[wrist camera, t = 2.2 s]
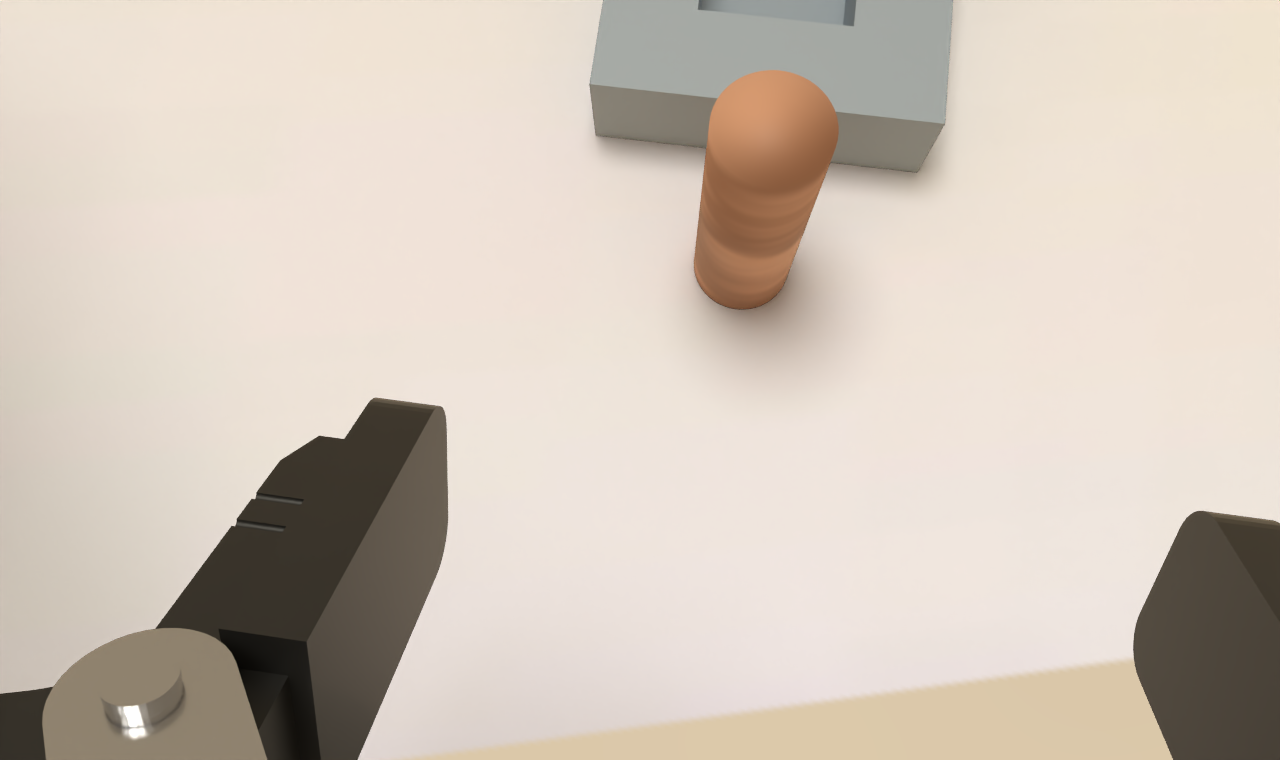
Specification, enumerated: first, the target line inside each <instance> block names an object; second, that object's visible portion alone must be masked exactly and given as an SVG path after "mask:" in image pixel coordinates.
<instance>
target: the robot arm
mask: <svg viewBox="0 0 1280 760" xmlns="http://www.w3.org/2000/svg"><path fill="white" fill-rule="evenodd" d="M447 526H448V486H447V428H446V416H445V412H444V410H443V408H442V407H441V406H434V405H427V404H419V403H412V402H404V401H397V400H390V399H382V398H373V399H372V400H371V401H370V402H369V403H368V404H367V406H366V407H365V409H364V410H363V412H362V413H361V415H360V416H359V418H358V419H357V421H356V422H355V424H354V425H353V427H352V428H351V430H350V431H349V433H348V434H347V436H346V437H345V439H339V438H332V437H324V436H318V437H316V438H315V439H313V440H312V441H310V442H309V443H307V444H306V445H304V446H302V447H301V448H299V449H298V450H296V451H295V452H293V453H291V454H290V455H288V456H287V457H285V458H284V459H282V460H280V462H279V463H278V464H277V466H276V467H275V468H274V470H273V471H272V472H271V474H270V475H269V476H268V478H267V479H266V480H265V482H264V483H263V484H262V486H261V487H260V488H259V490H258V491H257V494H256V499H251V501H250V502H249V503H248V505H247V506H246V507H245V509H244V510H243V511H242V513H241V514H240V515H239V517H238V518H237V523H236V526H231V528H230V529H229V530H228V532H227V533H226V534H225V536H224V537H223V538H222V540H221V541H220V542H219V544H218V545H217V546H216V548H215V549H214V551H213V552H212V553H211V555H210V556H209V557H208V559H207V560H206V561H205V563H204V564H203V565H202V567H201V568H200V569H199V571H198V572H197V573H196V575H195V576H194V577H193V579H192V580H191V582H190V583H189V584H188V586H187V587H186V588H185V590H184V591H183V592H182V594H181V595H180V596H179V598H178V599H177V600H176V602H175V603H174V604H173V606H172V607H171V609H170V610H169V611H168V613H167V614H166V615H165V617H164V618H163V619H162V621H161V622H160V623H159V625H158V626H157V627H156V629H152V630H146V631H141V632H137V633H133V634H129V635H127V636H124V637H121V638H118V639H115V640H113V641H111V642H109V643H107V644H104V645H102V646H100V647H98V648H97V649H95V650H94V651H92V652H90V653H89V654H87V655H85V656H84V657H83V658H81V659H80V660H79V661H78V662H76V663H75V664H74V665H72V666H71V667H70V668H69V669H68V670H67V671H66V672H65V673H64V674H63V675H62V676H61V678H60V679H59V680H58V682H57V683H56V684H55V686H54V687H50V688H44V689H38V690H31V691H22V692H13V693H4V694H0V760H357V759H358V757H359V755H360V752H361V750H362V748H363V745H364V743H365V741H366V738H367V736H368V734H369V732H370V729H371V727H372V725H373V722H374V720H375V718H376V715H377V713H378V711H379V708H380V706H381V704H382V701H383V699H384V697H385V694H386V692H387V690H388V687H389V685H390V683H391V680H392V678H393V676H394V673H395V671H396V669H397V666H398V664H399V662H400V659H401V657H402V655H403V652H404V650H405V648H406V645H407V643H408V641H409V638H410V636H411V634H412V631H413V629H414V627H415V624H416V622H417V620H418V617H419V615H420V613H421V610H422V608H423V606H424V603H425V601H426V599H427V596H428V594H429V592H430V589H431V587H432V585H433V582H434V580H435V578H436V575H437V573H438V570H439V567H440V564H441V560H442V557H443V552H444V547H445V542H446V535H447ZM1133 651H1134V662H1135V667H1136V671H1137V674H1138V677H1139V679H1140V682H1141V684H1142V687H1143V689H1144V692H1145V694H1146V696H1147V699H1148V701H1149V704H1150V706H1151V708H1152V711H1153V713H1154V715H1155V718H1156V720H1157V722H1158V725H1159V727H1160V729H1161V731H1162V734H1163V737H1164V739H1165V741H1166V743H1167V746H1168V748H1169V751H1170V753H1171V755H1172V758H1173V760H1280V523H1278V522H1276V521H1273V520H1266V519H1258V518H1251V517H1243V516H1236V515H1229V514H1221V513H1214V512H1206V511H1197V512H1194V513H1192V514H1191V515H1189V516H1188V517H1187V518H1186V520H1185V521H1184V522H1183V524H1182V526H1181V527H1180V529H1179V531H1178V534H1177V536H1176V538H1175V540H1174V542H1173V544H1172V546H1171V548H1170V551H1169V553H1168V555H1167V557H1166V559H1165V561H1164V563H1163V565H1162V568H1161V570H1160V572H1159V574H1158V576H1157V578H1156V580H1155V582H1154V585H1153V587H1152V589H1151V591H1150V593H1149V595H1148V597H1147V599H1146V602H1145V604H1144V606H1143V608H1142V610H1141V612H1140V615H1139V617H1138V620H1137V623H1136V627H1135V633H1134V643H1133Z"/></svg>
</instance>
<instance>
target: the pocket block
mask: <svg viewBox="0 0 1280 760" xmlns="http://www.w3.org/2000/svg"><path fill="white" fill-rule="evenodd" d="M952 10H953V0H603V4H602V10H601V16H600V22H599V29H598V35H597V41H596V47H595V53H594V59H593V65H592V71H591V78H590V84H589V85H590V93H591V101H592V109H593V117H594V125H595V133H596V135H597V136H606V137H614V138H623V139H632V140H640V141H649V142H658V143H666V144H675V145H684V146H692V147H701V148H707V139H708V130H709V121H710V115H711V112H712V109H713V106H714V104H715V102H716V100H717V99H718V97H719V96H720V94H721V93H722V92H723V91H724V90H725V89H726V88H727V87H728V86H729V85H730V84H731V83H733V82H734V81H736V80H737V79H739V78H741V77H743V76H745V75H748V74H751V73H754V72H758V71H765V70H780V71H787V72H791V73H794V74H797V75H800V76H802V77H804V78H806V79H808V80H810V81H811V82H812V83H814V84H815V85H817V86H818V87H819V88H820V89H821V90H822V91H823V92H824V93H825V95H826V96H827V97H828V98H829V100H830V102H831V103H832V105H833V107H834V109H835V112H836V115H837V119H838V125H839V135H838V141H837V145H836V148H835V151H834V154H833V156H832V159H831V163H839V164H848V165H857V166H865V167H874V168H883V169H891V170H900V171H909V172H918V170H919V168H920V167H921V165H922V163H923V161H924V160H925V158H926V156H927V154H928V153H929V151H930V149H931V147H932V146H933V144H934V142H935V140H936V139H937V137H938V135H939V133H940V132H941V130H942V128H943V126H944V125H945V115H946V100H947V85H948V70H949V55H950V40H951V25H952Z"/></svg>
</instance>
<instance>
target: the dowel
mask: <svg viewBox="0 0 1280 760" xmlns="http://www.w3.org/2000/svg"><path fill="white" fill-rule="evenodd" d="M838 135H839V125H838V119H837V115H836V112H835V109H834V107H833V105H832V103H831V102H830V100H829V98H828V97H827V96H826V95H825V93H824V92H823V91H822V90H821V89H820V88H819V87H818V86H817V85H815V84H814V83H812V82H811V81H810V80H808V79H806V78H804V77H802V76H800V75H797V74H794V73H791V72H787V71H780V70H765V71H758V72H754V73H751V74H748V75H745V76H743V77H741V78H739V79H737V80H736V81H734V82H733V83H731V84H730V85H729V86H728V87H727V88H726V89H725V90H724V91H723V92H722V93H721V94H720V96H719V97H718V99H717V100H716V102H715V104H714V106H713V109H712V112H711V115H710V121H709V130H708V139H707V148H706V157H705V166H704V175H703V184H702V193H701V202H700V211H699V220H698V229H697V238H696V247H695V256H694V271H695V275H696V278H697V281H698V283H699V285H700V287H701V288H702V290H703V291H704V292H705V293H706V294H707V295H708V296H709V297H710V298H711V299H712V300H714V301H715V302H717V303H719V304H721V305H723V306H726V307H729V308H734V309H751V308H755V307H758V306H761V305H763V304H765V303H767V302H768V301H770V300H771V299H773V298H774V297H775V296H776V295H777V294H778V292H779V291H780V290H781V288H782V287H783V285H784V283H785V281H786V278H787V275H788V273H789V270H790V267H791V265H792V262H793V259H794V257H795V254H796V252H797V249H798V246H799V244H800V241H801V238H802V236H803V233H804V230H805V228H806V225H807V222H808V220H809V217H810V215H811V212H812V209H813V207H814V204H815V201H816V199H817V196H818V193H819V191H820V188H821V185H822V183H823V180H824V178H825V175H826V172H827V170H828V167H829V164H830V162H831V159H832V156H833V154H834V151H835V148H836V145H837V141H838Z"/></svg>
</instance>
